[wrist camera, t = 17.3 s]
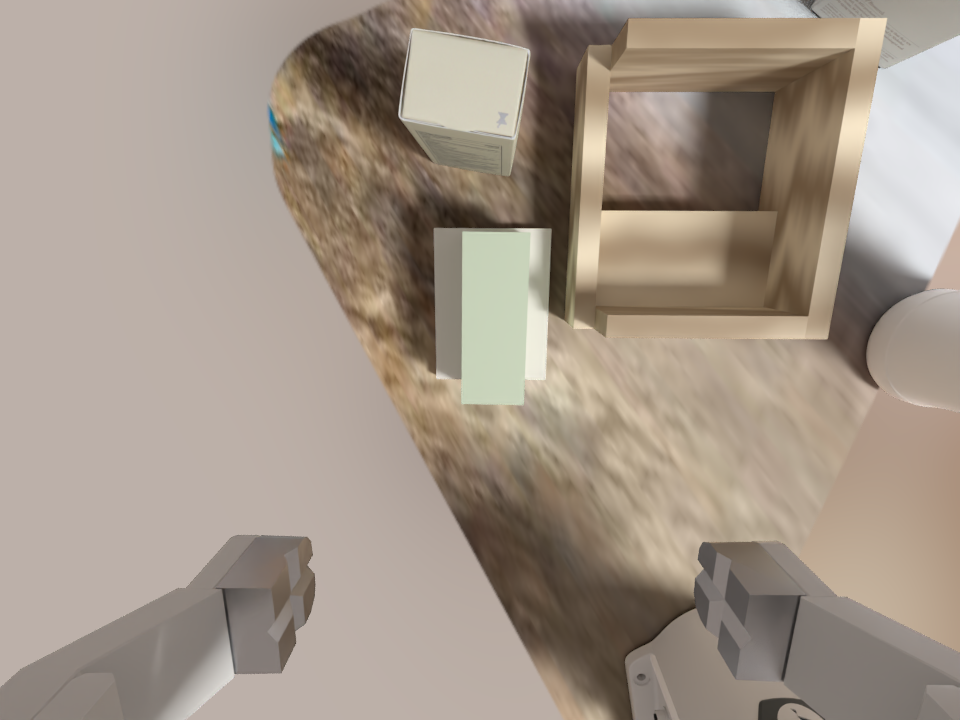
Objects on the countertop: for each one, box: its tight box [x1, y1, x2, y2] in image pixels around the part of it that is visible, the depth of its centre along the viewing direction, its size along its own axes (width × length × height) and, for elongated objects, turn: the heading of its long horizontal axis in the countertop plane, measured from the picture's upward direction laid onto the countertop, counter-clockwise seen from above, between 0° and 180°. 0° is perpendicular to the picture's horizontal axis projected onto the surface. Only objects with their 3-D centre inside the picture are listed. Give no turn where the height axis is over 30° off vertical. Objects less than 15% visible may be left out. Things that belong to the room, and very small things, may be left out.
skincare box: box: [398, 28, 530, 176], centre depth 29 cm, size 6×4×12 cm
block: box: [461, 231, 531, 405], centre depth 34 cm, size 12×4×5 cm, turn 179°
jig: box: [565, 18, 887, 339], centre depth 32 cm, size 18×16×8 cm
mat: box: [434, 228, 552, 380], centre depth 37 cm, size 12×9×1 cm
